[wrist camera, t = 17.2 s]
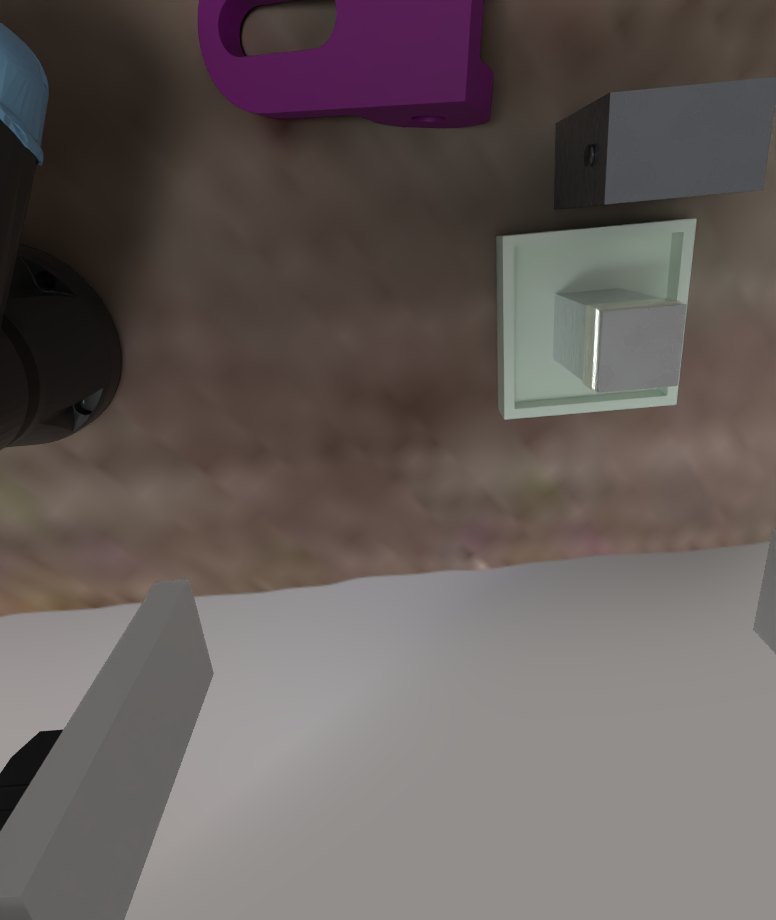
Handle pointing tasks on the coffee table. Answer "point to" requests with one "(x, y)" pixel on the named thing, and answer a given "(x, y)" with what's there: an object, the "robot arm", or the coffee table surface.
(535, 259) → the tray
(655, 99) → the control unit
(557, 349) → the module
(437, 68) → the mounting bracket
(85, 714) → the robot arm
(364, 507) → the coffee table surface
